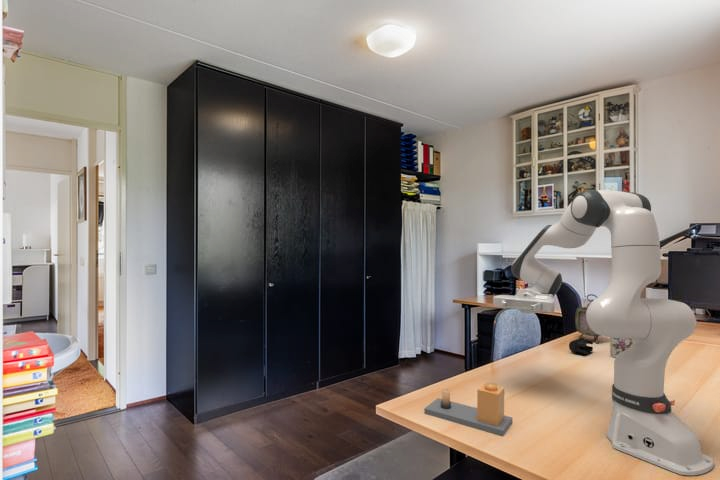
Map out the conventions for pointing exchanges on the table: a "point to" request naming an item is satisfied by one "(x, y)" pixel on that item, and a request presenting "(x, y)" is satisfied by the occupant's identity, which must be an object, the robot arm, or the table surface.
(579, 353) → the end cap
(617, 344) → the decorative jar
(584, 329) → the tabletop clock
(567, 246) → the robot arm
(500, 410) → the orange toy brick
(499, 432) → the mounting plate
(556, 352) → the table surface
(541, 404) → the table surface
